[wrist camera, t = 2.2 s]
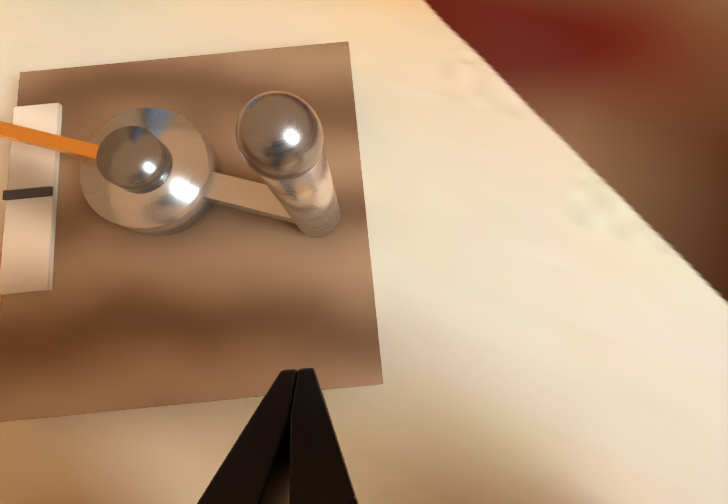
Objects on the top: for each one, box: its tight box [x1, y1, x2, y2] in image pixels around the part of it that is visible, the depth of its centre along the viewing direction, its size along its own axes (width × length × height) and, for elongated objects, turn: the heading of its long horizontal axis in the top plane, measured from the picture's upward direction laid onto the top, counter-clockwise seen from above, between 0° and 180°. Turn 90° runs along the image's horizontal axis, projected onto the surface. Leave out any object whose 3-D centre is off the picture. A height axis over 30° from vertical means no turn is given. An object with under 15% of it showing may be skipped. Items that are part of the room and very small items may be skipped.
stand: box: [0, 42, 383, 422], centre depth 22 cm, size 20×20×2 cm
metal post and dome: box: [0, 91, 341, 238], centre depth 16 cm, size 6×18×10 cm, turn 76°
